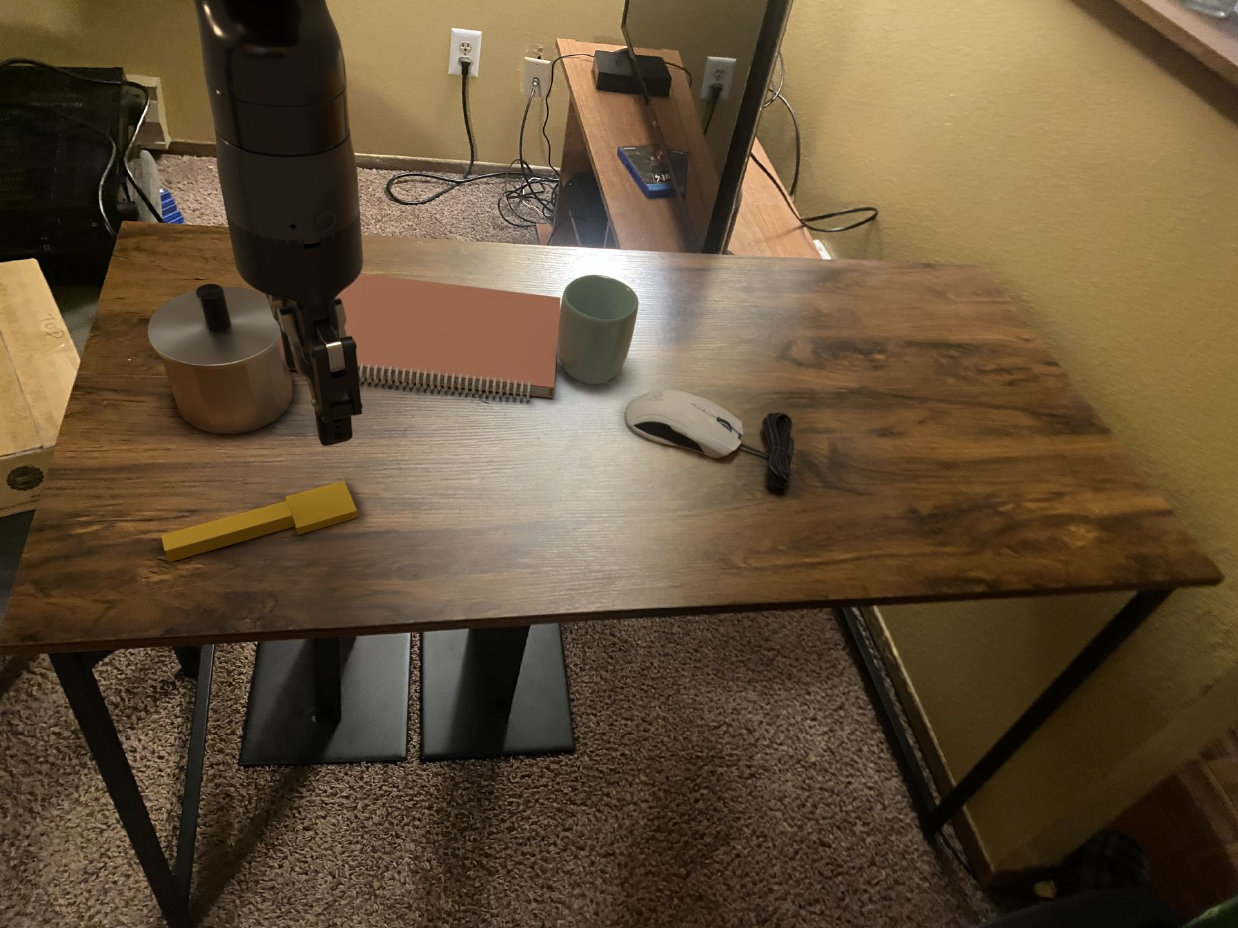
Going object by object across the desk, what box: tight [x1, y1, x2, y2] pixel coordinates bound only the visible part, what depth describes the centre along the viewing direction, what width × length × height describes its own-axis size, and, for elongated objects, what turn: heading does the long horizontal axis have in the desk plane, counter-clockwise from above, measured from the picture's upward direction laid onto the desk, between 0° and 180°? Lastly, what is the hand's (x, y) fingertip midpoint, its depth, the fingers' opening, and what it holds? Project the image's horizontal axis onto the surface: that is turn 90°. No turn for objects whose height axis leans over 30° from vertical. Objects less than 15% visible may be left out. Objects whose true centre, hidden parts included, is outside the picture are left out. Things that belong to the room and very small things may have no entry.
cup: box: [557, 274, 639, 385], centre depth 89 cm, size 8×8×10 cm
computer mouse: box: [624, 388, 795, 490], centre depth 86 cm, size 10×18×4 cm, turn 75°
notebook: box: [289, 272, 562, 401], centre depth 91 cm, size 27×17×2 cm, turn 91°
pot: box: [160, 339, 293, 435], centre depth 79 cm, size 10×10×8 cm
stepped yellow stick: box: [160, 480, 359, 563], centre depth 72 cm, size 15×4×2 cm, turn 119°
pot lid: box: [147, 283, 282, 369], centre depth 75 cm, size 11×11×5 cm
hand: (318, 401), depth 61 cm, fingers open, 8 cm apart
